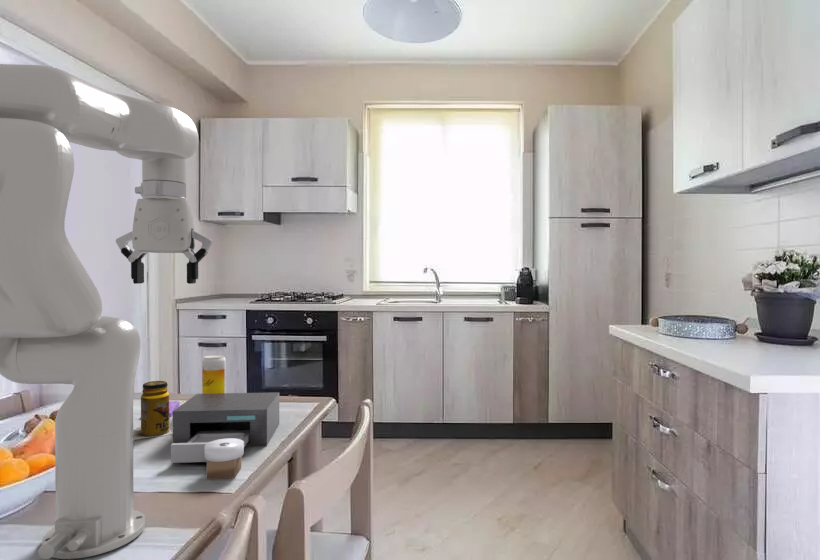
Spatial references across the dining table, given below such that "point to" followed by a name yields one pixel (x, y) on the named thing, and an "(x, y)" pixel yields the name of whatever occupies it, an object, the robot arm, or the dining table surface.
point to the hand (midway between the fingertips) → (165, 283)
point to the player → (228, 415)
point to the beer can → (214, 374)
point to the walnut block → (223, 469)
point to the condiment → (154, 411)
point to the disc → (224, 449)
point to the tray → (203, 445)
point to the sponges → (173, 407)
